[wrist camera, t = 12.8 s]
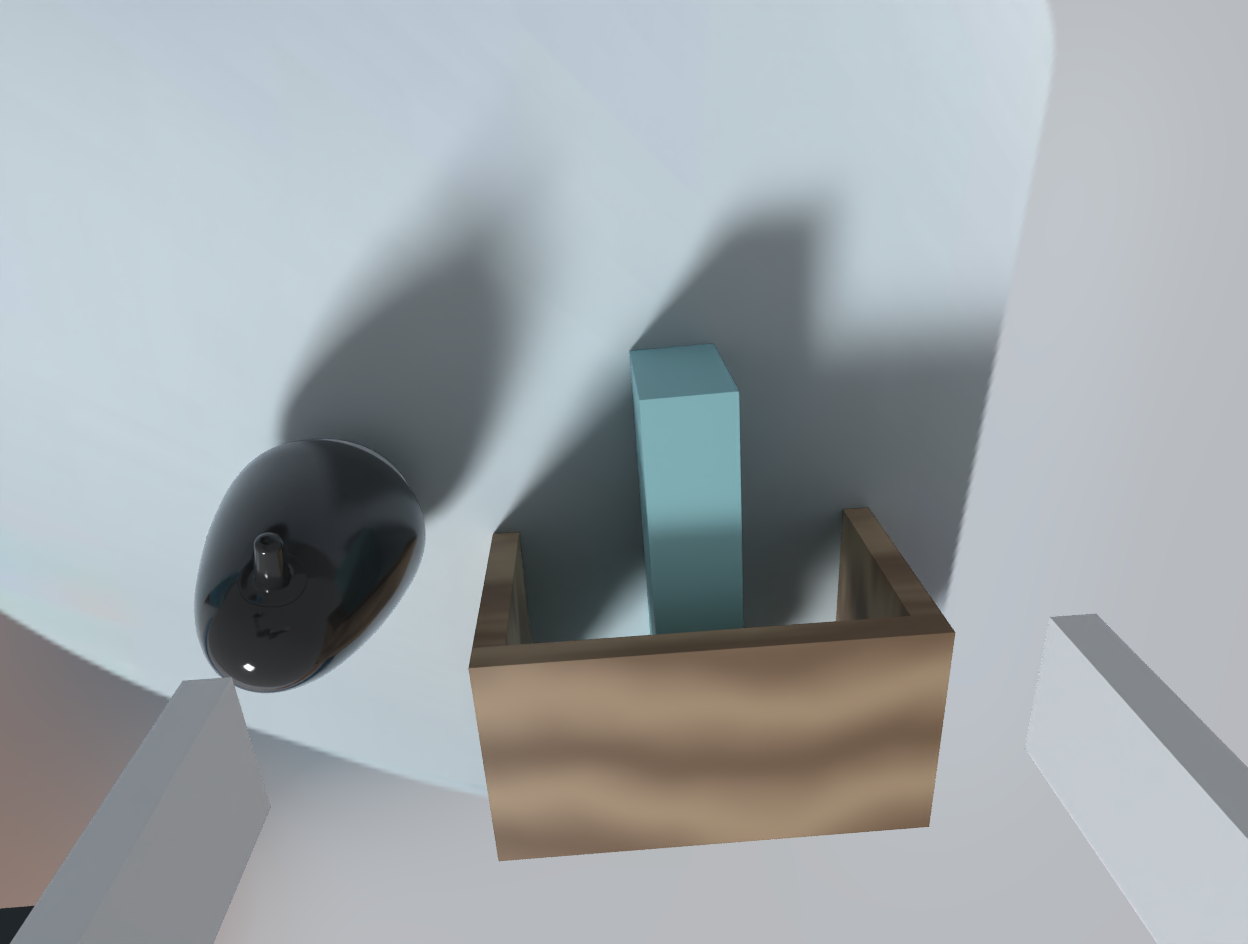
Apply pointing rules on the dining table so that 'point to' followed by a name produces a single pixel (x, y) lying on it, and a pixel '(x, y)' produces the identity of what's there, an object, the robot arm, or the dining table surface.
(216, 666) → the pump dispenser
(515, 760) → the walnut shelf
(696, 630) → the teal batten
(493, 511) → the dining table surface
